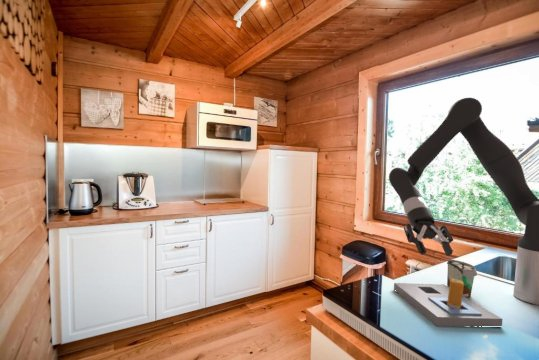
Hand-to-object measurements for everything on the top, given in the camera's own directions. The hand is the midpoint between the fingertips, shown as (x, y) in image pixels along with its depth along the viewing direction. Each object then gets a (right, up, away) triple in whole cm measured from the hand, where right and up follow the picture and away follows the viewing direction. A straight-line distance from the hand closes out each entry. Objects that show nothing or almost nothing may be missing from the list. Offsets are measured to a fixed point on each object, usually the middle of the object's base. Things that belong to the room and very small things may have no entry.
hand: (437, 254), depth 87 cm
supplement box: (0, -16, -8) cm, 17 cm away
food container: (+14, -16, +8) cm, 22 cm away
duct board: (-1, -15, -3) cm, 15 cm away
